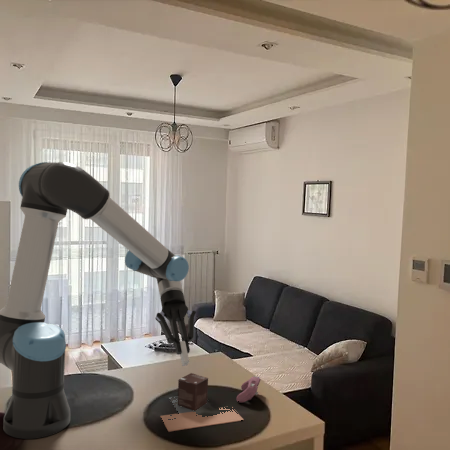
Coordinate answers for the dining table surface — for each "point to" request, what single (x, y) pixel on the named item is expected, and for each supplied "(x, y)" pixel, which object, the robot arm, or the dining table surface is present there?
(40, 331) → the robot arm
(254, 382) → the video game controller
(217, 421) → the t mat
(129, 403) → the dining table surface
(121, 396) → the dining table surface
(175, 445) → the dining table surface
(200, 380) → the box
